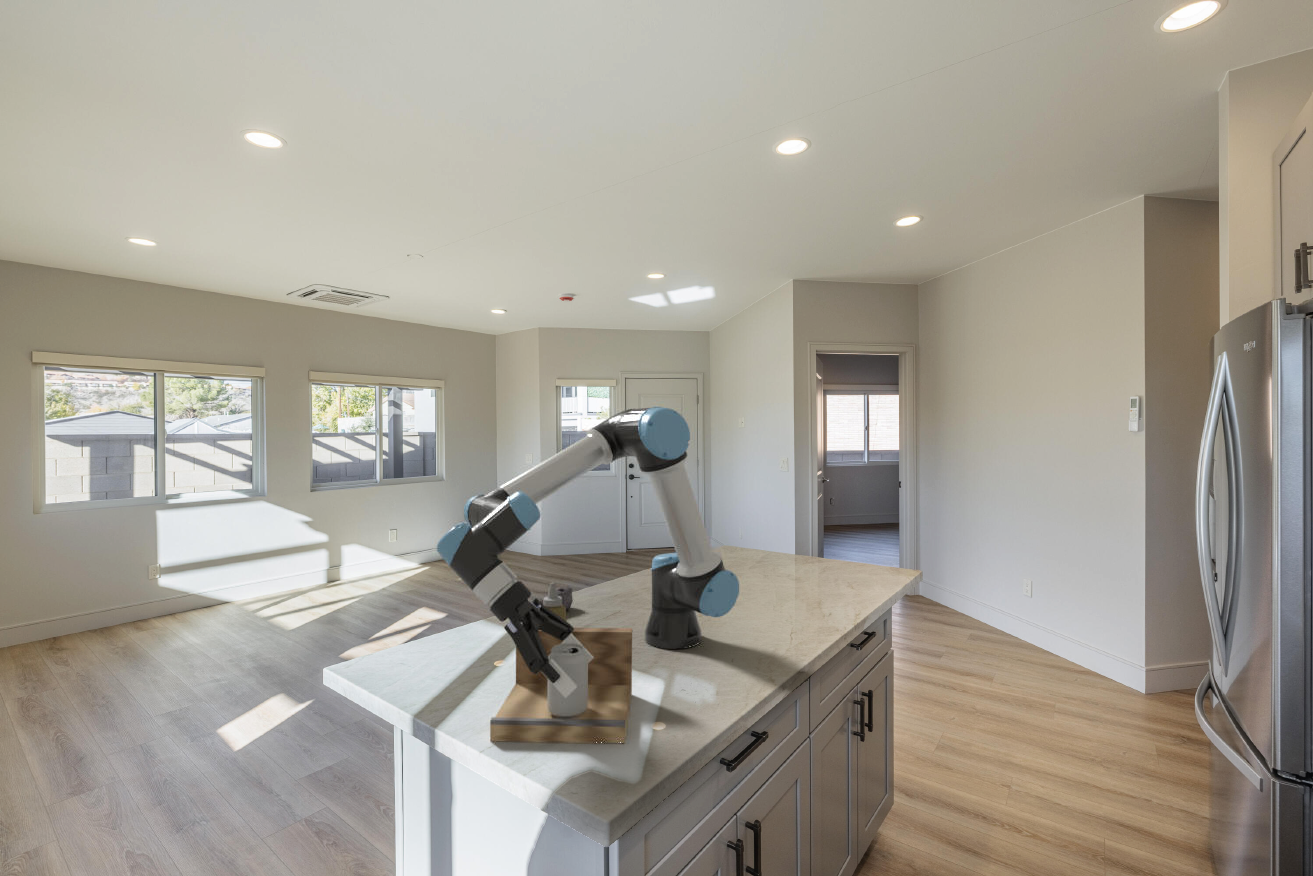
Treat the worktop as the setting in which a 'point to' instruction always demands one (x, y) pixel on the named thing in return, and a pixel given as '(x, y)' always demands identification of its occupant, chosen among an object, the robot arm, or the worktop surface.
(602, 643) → the wooden l-shaped piece
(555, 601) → the squeeze bottle
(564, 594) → the perforated stone tool
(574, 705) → the can
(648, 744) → the worktop surface
